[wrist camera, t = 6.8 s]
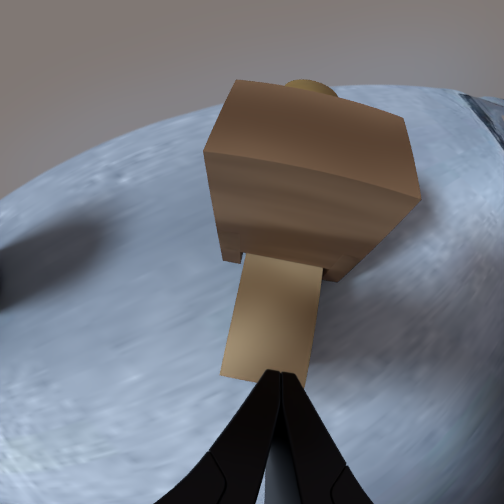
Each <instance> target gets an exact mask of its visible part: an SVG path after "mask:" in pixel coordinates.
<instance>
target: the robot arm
mask: <svg viewBox="0 0 504 504" xmlns="http://www.w3.org/2000/svg"><path fill="white" fill-rule="evenodd" d="M265 468H266V471H265ZM264 472H265V501H264V504H374V503H373V502H372V501H371V500H370V498H369V497H368V496H367V494H366V493H365V492H364V490H363V489H362V487H361V486H360V484H359V483H358V481H357V480H356V478H355V477H354V475H353V473H352V472H351V470H350V468H349V466H347V465H346V462H345V460H344V458H343V456H342V455H341V453H340V451H339V450H338V448H337V446H336V444H335V443H334V441H333V439H332V438H331V436H330V434H329V432H328V431H327V429H326V427H325V425H324V424H323V422H322V420H321V418H320V417H319V415H318V413H317V411H316V410H315V408H314V406H313V404H312V403H311V401H310V399H309V397H308V395H307V394H306V392H305V390H304V388H303V386H302V385H301V383H300V381H299V379H298V378H297V376H296V374H295V373H291V372H284V371H282V372H281V373H280V371H278V370H272V369H266V370H265V372H264V373H263V375H262V376H261V378H260V379H259V381H258V382H257V384H256V385H255V387H254V388H253V390H252V391H251V392H250V394H249V395H248V397H247V398H246V400H245V401H244V403H243V404H242V405H241V407H240V408H239V410H238V411H237V412H236V414H235V415H234V417H233V418H232V419H231V421H230V422H229V424H228V425H227V426H226V428H225V429H224V430H223V432H222V433H221V434H220V436H219V437H218V438H217V440H216V441H215V442H214V444H213V445H212V446H211V447H210V449H209V451H208V452H206V454H205V455H204V456H203V457H202V459H201V460H200V461H199V462H198V463H197V465H196V466H195V467H194V468H193V469H192V470H191V471H190V472H189V474H188V475H187V476H186V477H184V478H183V479H182V480H181V481H180V482H179V483H178V484H177V485H176V486H175V487H174V488H173V489H171V490H170V491H169V492H168V493H166V494H165V495H164V496H163V497H162V498H160V499H159V500H158V501H156V502H155V503H154V504H255V503H256V500H257V497H258V493H259V490H260V486H261V483H262V479H263V475H264Z"/></svg>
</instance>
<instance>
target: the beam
mask: <svg viewBox="0 0 504 504" xmlns="http://www.w3.org/2000/svg"><path fill="white" fill-rule="evenodd" d="M285 86H288V87H294V88H299V89H304V90H309V91H314V92H318V93H322V94H327V95H331V96H335V97H338V96H337V94H336V93H335V92H334V91H333V90H332V89H331V88H329V87H328V86H326V85H324V84H322V83H319V82H316V81H312V80H294V81H291V82H289V83H287V84H286V85H285ZM322 271H323V268H321V267H316V266H310V265H305V264H300V263H295V262H290V261H285V260H280V259H274V258H269V257H264V256H259V255H254V254H249V253H246V257H245V261H244V266H243V270H242V275H241V279H240V284H239V288H238V293H237V298H236V302H235V307H234V311H233V316H232V320H231V325H230V329H229V334H228V339H227V343H226V348H225V352H224V357H223V362H222V366H221V371H220V375H221V376H226V377H231V378H235V379H240V380H245V381H251V382H256V383H257V382H258V381H259V379H260V378H261V376H262V375H263V373H264V372H265V370H266V369H272V370H278V371H280V373H281V372H282V371H284V372H291V373H295V374H296V376H297V378H298V379H299V381H300V383H301V385H302V386H303V388H304V387H305V382H306V377H307V372H308V367H309V361H310V355H311V349H312V344H313V337H314V331H315V325H316V318H317V311H318V304H319V296H320V288H321V280H322Z"/></svg>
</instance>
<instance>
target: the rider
mask: <svg viewBox="0 0 504 504" xmlns="http://www.w3.org/2000/svg"><path fill="white" fill-rule="evenodd" d="M203 154H204V160H205V166H206V172H207V178H208V183H209V189H210V195H211V200H212V206H213V211H214V217H215V222H216V227H217V232H218V238H219V243H220V248H221V253H222V258H223V261H228V262H233V263H238V264H241V259H242V255H243V252H244V253H249V254H254V255H259V256H264V257H269V258H274V259H280V260H285V261H290V262H295V263H300V264H305V265H310V266H316V267H321V268H323V271H322V280H326V281H332V282H338V281H339V280H341V279H342V278H343V277H344V276H345V275H346V274H347V273H348V272H349V271H350V270H352V269H353V268H354V267H355V266H356V265H357V264H358V263H359V262H360V261H361V260H362V259H363V258H364V257H365V256H366V255H367V254H369V253H370V252H371V251H372V250H373V249H374V248H375V247H376V246H377V245H378V244H379V243H380V242H381V241H382V240H383V239H384V238H385V237H386V236H387V235H388V234H389V233H390V232H391V231H392V230H393V229H394V228H395V227H396V226H397V225H398V224H399V223H400V222H401V221H402V220H403V219H404V218H405V216H406V215H407V214H408V213H409V212H410V211H411V210H412V209H413V208H414V207H415V206H416V205H417V204H418V203H419V202H420V200H421V194H420V188H419V182H418V177H417V172H416V167H415V162H414V157H413V153H412V149H411V145H410V141H409V137H408V133H407V129H406V126H405V122H404V119H403V118H402V117H399V116H397V115H394V114H391V113H388V112H385V111H382V110H379V109H376V108H373V107H370V106H367V105H364V104H360V103H357V102H354V101H350V100H346V99H343V98H339V97H335V96H331V95H327V94H322V93H318V92H314V91H309V90H304V89H299V88H294V87H288V86H282V85H276V84H269V83H262V82H254V81H245V80H236V81H235V83H234V85H233V87H232V89H231V91H230V93H229V95H228V97H227V99H226V101H225V103H224V105H223V107H222V110H221V112H220V114H219V116H218V118H217V120H216V123H215V125H214V127H213V129H212V132H211V134H210V136H209V138H208V141H207V143H206V145H205V148H204V150H203Z"/></svg>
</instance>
